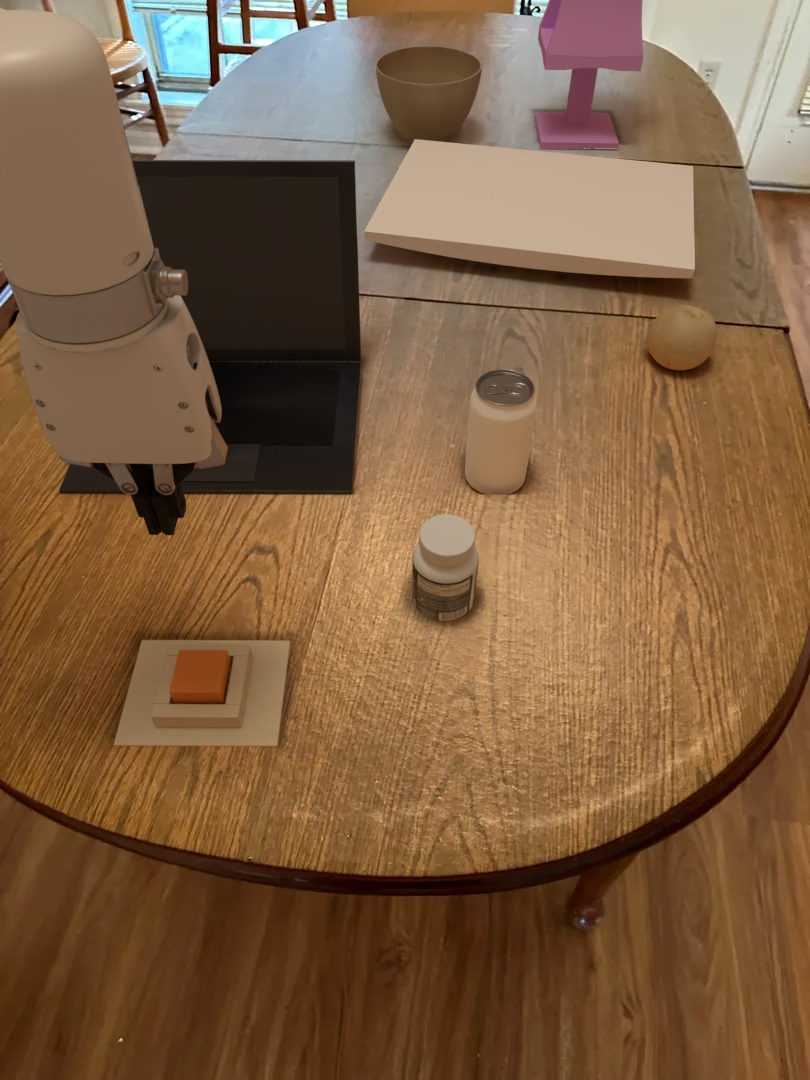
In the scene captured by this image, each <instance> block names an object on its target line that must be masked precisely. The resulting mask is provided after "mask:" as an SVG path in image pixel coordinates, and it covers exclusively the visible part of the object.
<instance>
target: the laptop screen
mask: <svg viewBox="0 0 810 1080" xmlns="http://www.w3.org/2000/svg"><path fill="white" fill-rule="evenodd" d="M132 161H133V165H134V169H135V173H136V178H137V181H138V185H139V189H140V193H141V197H142V201H143V205H144V209H145V213H146V217H147V221H148V226H149V230H150V234H151V238H152V242H153V246H154V248H158V249H159V253H160V258H161V260H162V261H163V263H164V265H165V267H171V268H172V269H173V270H185V271H186V273H187V276H188V284H189V286H188V294H187V295H186V296H185V295H180V296H181V298H182V299H183V301H184V303H185V305H186V307H187V309H188V311H189V313H190V315H191V317H192V319H193V322H194V324H195V326H196V328H197V331H198V333H199V336H200V339H201V341H202V344H203V346H204V349H205V352H206V354H207V357H208V360H209V362H362V340H361V339H362V338H361V335H362V334H361V310H360V308H361V307H360V304H361V303H360V276H359V275H360V274H359V247H358V246H359V243H358V213H357V211H358V209H357V183H356V182H357V181H356V180H357V179H356V160H353V159H351V160H349V159H348V160H347V159H346V160H343V159H341V160H340V159H338V160H337V159H336V160H334V159H333V160H332V159H331V160H329V159H323V160H322V159H318V160H317V159H314V160H312V159H299V160H298V159H261V160H260V159H249V160H248V159H132Z"/></svg>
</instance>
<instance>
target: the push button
mask: <svg viewBox="0 0 810 1080" xmlns="http://www.w3.org/2000/svg"><path fill="white" fill-rule="evenodd" d="M230 664H231V660H230V657H229V654H228V651H227V650H179V652H178V657H177V661H176V665H175V670H174V674H173V678H172V683H171V687H170V691H169V693H170V695H171V697H172V699H173V702H174V703H224V698H225V692H226V686H227V681H228V675H229V669H230Z"/></svg>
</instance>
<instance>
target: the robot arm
mask: <svg viewBox="0 0 810 1080" xmlns="http://www.w3.org/2000/svg"><path fill="white" fill-rule="evenodd" d="M130 149H131V148H130V146H129V141H128V138H127V134H126V128H125V126H124V122H123V117H122V113H121V109H120V104H119V102H118V97H117V92H116V88H115V85H114V80H113V76H112V73H111V70H110V66H109V63H108V60H107V56H106V54H105V51H104V49H103V47H102V45H101V43H100V42H99V40H98V38H97V36H96V35H95V34H93V32H92V31H91V30H90V29H89V28H88V27H87V26H86V25H84V24H83V23H81V22H80V21H78V20H76V19H75V18H73V17H71V16H68V15H65V14H61V13H56V12H53V11H47V10H40V9H39V10H38V9H5V8H2V7H0V266H1V268H2V271H3V273H4V276H5V277H6V281H7V282H8V285H9V287H10V290H11V292H12V295H13V297H14V299H15V302H16V304H17V307H18V310H19V311H18V313H17V315H16V317H15V330H16V336H17V343H18V350H19V354H20V355H19V356H20V361H21V365H22V369H23V374H24V378H25V381H26V382H25V383H26V385H27V388H28V392H29V395H30V398H31V402H32V404H33V407H34V411H35V414H36V416H37V418H38V421H39V423H40V426H41V429H42V431H43V433H44V435H45V437H46V439H47V441H48V443H49V445H50V446H51V448H52V449H53V450H54V452H55V453H56V454H57V455H58V457H59V460H61V462H63V463H66V464H69V465H70V464H74V465H80V466H85V467H91V466H93V467H94V468H95V469H96V470H98V471H99V472H101V473H103V474H105V475H106V476H108V477H110V478H112V479H113V480H115V481H116V483H117V485H118V486H119V488H120V490H121V491H122V492H124V493H126V494H125V495H130V496H131V499H132V501H133V505H134V508H135V510H136V513H137V516H138V517H139V518H143V521H144V523H145V526H146V529H147V531H148V534H149V536H159V534H163V535H165V536H174V535H175V532H176V527H177V524H178V521H179V519H184V517H185V516H186V515H185V514H186V511H187V500H186V496H185V494H184V492H183V489H182V485H181V481H182V480H183V479H184V478H186V477H187V476H188V475H189V474H190V473H191V472H192V471H193V470H194V469H196V468H199V469H204V468H209V467H215V466H221V465H223V464H224V463H225V459H226V455H227V451H228V447H227V445H226V443H225V441H224V439H223V438H222V436H221V434H220V432H219V430H218V428H217V427H216V425H215V423H214V422H220V421H221V413H222V409H221V402H220V397H219V393H218V390H217V386H216V383H215V379H214V376H213V373H212V370H211V367H210V363H209V362H210V361H209V360H208V357H207V354H206V352H205V349H204V346H203V344H202V341H201V339H200V336H199V333H198V331H197V328H196V326H195V324H194V322H193V319H192V317H191V315H190V313H189V311H188V309H187V307H186V305H185V303H184V301H183V299H182V298H181V296H180V295H185V296H186V295H187V294H188V286H189V284H188V276H187V273H186V271H185V270H173V269H172V268H171V267H165V265H164V263H163V261H162V260H161V258H160V253H159V249H158V248H154V246H153V242H152V238H151V234H150V230H149V226H148V221H147V217H146V213H145V209H144V205H143V201H142V197H141V193H140V189H139V185H138V181H137V178H136V173H135V169H134V165H133V161H132V160H133V157H132V154H131V150H130Z"/></svg>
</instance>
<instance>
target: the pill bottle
mask: <svg viewBox="0 0 810 1080" xmlns="http://www.w3.org/2000/svg"><path fill="white" fill-rule="evenodd" d="M412 551H413V552H412V560H411V561H412V562H411V563H412V564H411V565H412V570H411V576H412V578H411V580H412V581H411V582H412V583H411V597H412V599H411V600H412V603H413V605H414V607H415V608H416V610H417V611H418V612H419V613H420V614H422V615H423V616H425V617H426V618H428V619H430V620H434V621H437V622H450V621H455V620H458V619H460V618H462V617H464V616H465V615H467V614H468V613H469V611H470V610H471V609H472V607H473V606H474V603H475V597H476V588H477V580H478V579H477V578H478V572H479V571H478V570H479V564H480V563H479V562H480V557H479V556H480V555H479V552H478V551H479V550H478V548H477V547H476V532H475V529H474V527H473V526H472V525H471V523H470V522H469V521H468V520H467V519H465V518H463V517H462V516H460V515H459V516H458V515H455V514H448V513H446V514H445V513H444V514H438V515H434V516H432V517H430V518H429V519H427V520H426V521H425V522H424V523H423V524H422V525H421V528H420V529H419V535H418V542H417V543H416V544H415V547H414V549H413V550H412Z"/></svg>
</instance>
